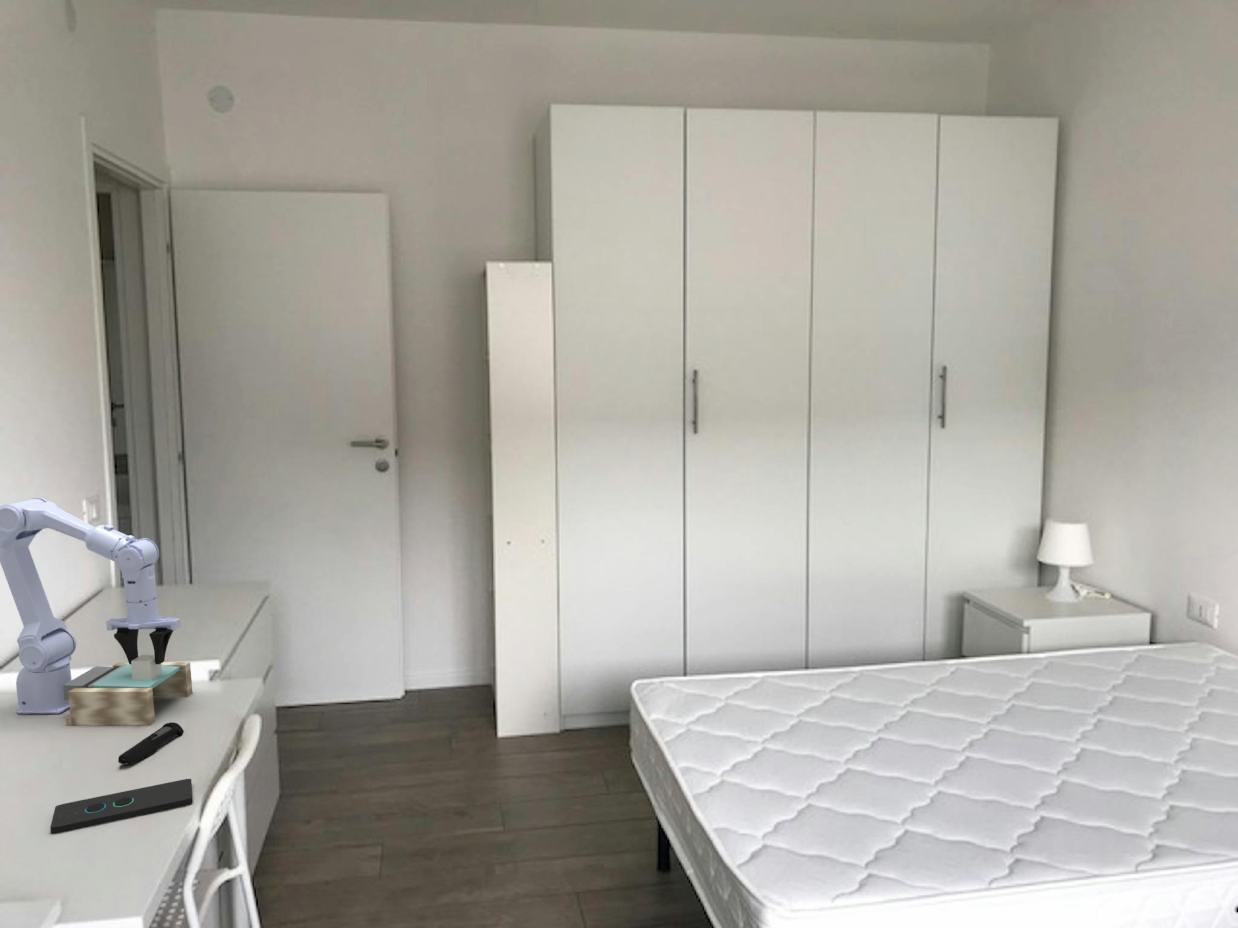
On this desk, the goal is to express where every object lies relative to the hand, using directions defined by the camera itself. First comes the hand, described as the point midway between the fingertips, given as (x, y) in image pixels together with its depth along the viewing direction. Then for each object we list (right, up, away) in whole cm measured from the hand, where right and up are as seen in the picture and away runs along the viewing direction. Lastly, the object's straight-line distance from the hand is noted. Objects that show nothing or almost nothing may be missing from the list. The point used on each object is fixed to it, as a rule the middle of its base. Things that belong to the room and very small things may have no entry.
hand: (146, 662), depth 189 cm
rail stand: (-4, -10, +1) cm, 11 cm away
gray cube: (0, -3, 0) cm, 3 cm away
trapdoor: (-6, -6, +1) cm, 8 cm away
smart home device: (+17, -16, -40) cm, 47 cm away
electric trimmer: (+11, -13, -18) cm, 25 cm away
